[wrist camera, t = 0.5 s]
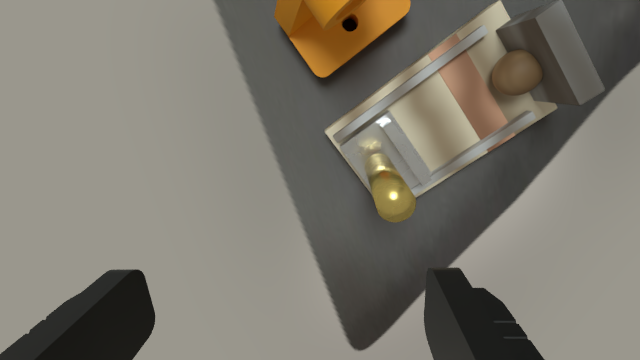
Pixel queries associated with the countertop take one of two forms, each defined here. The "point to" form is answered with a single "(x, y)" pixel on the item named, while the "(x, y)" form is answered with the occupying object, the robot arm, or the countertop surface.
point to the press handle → (387, 166)
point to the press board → (480, 87)
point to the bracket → (335, 28)
